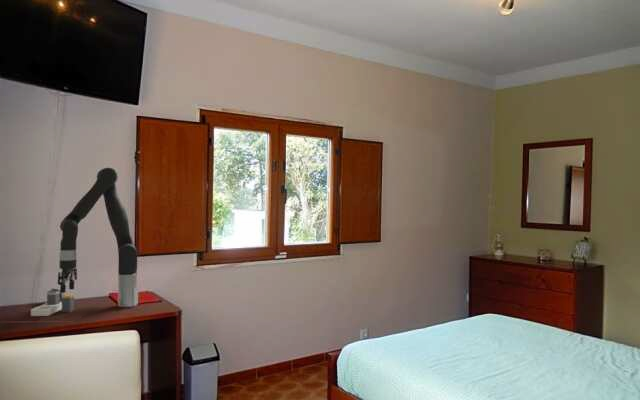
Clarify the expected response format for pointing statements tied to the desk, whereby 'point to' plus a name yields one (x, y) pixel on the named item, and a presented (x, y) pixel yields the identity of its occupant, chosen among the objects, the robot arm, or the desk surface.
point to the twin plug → (53, 297)
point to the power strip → (46, 309)
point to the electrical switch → (59, 293)
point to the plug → (68, 303)
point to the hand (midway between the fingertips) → (67, 290)
